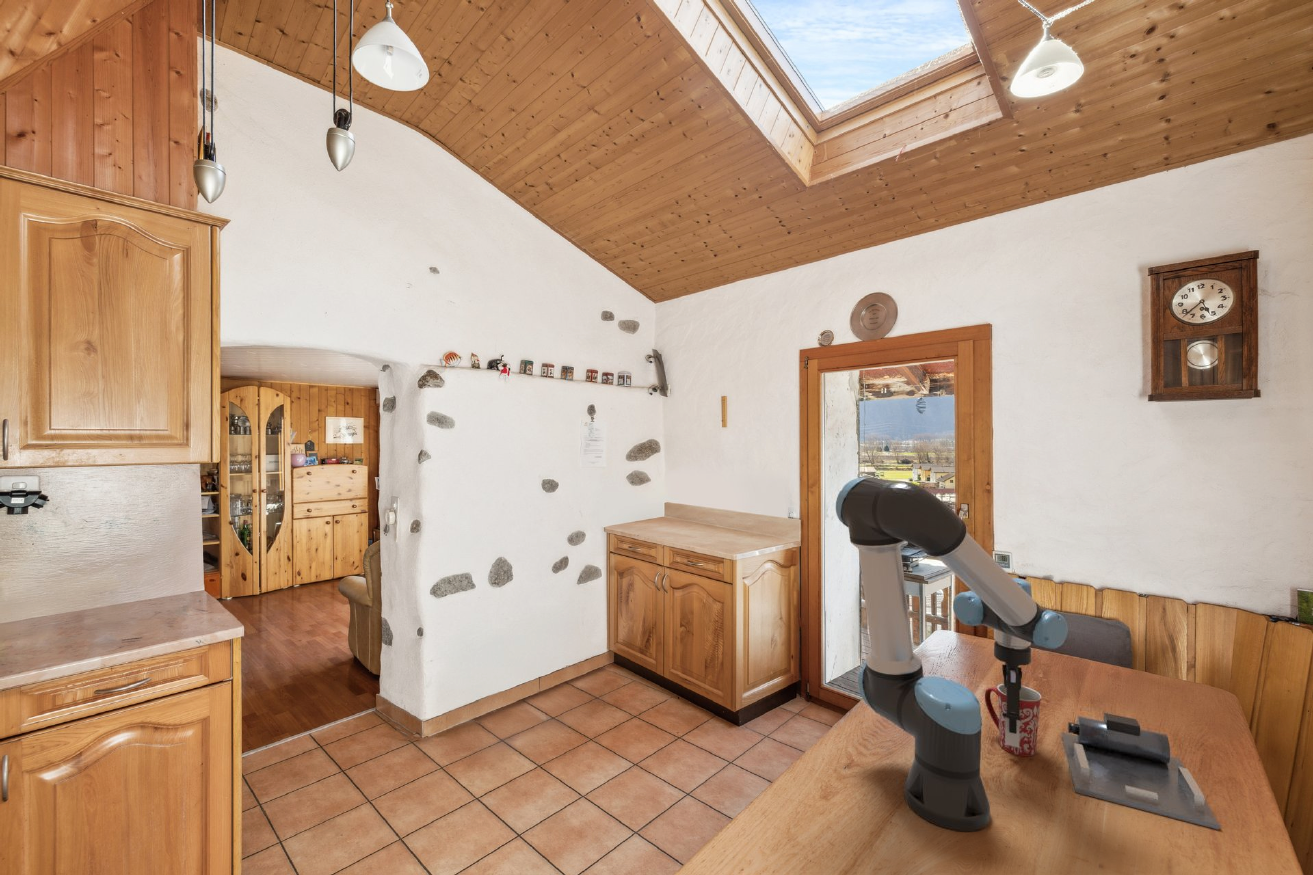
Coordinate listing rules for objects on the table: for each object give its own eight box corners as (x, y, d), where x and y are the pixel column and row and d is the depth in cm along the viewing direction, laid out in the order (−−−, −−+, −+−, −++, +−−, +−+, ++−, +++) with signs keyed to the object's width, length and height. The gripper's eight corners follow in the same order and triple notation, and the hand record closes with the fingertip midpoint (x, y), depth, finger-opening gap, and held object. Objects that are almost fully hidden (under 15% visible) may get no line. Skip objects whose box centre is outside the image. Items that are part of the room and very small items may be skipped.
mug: (1049, 754, 134) (1050, 696, 133) (1023, 762, 130) (1024, 702, 130) (999, 728, 145) (1000, 675, 145) (973, 734, 142) (974, 680, 142)
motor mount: (1219, 830, 108) (1220, 785, 108) (1075, 792, 119) (1076, 751, 119) (1179, 762, 131) (1179, 725, 131) (1061, 736, 142) (1062, 701, 142)
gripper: (1034, 664, 125) (1033, 761, 125) (1027, 631, 146) (1026, 714, 147) (994, 657, 129) (993, 752, 129) (993, 626, 150) (992, 706, 150)
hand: (1011, 732), depth 138 cm, fingers open, 13 cm apart
